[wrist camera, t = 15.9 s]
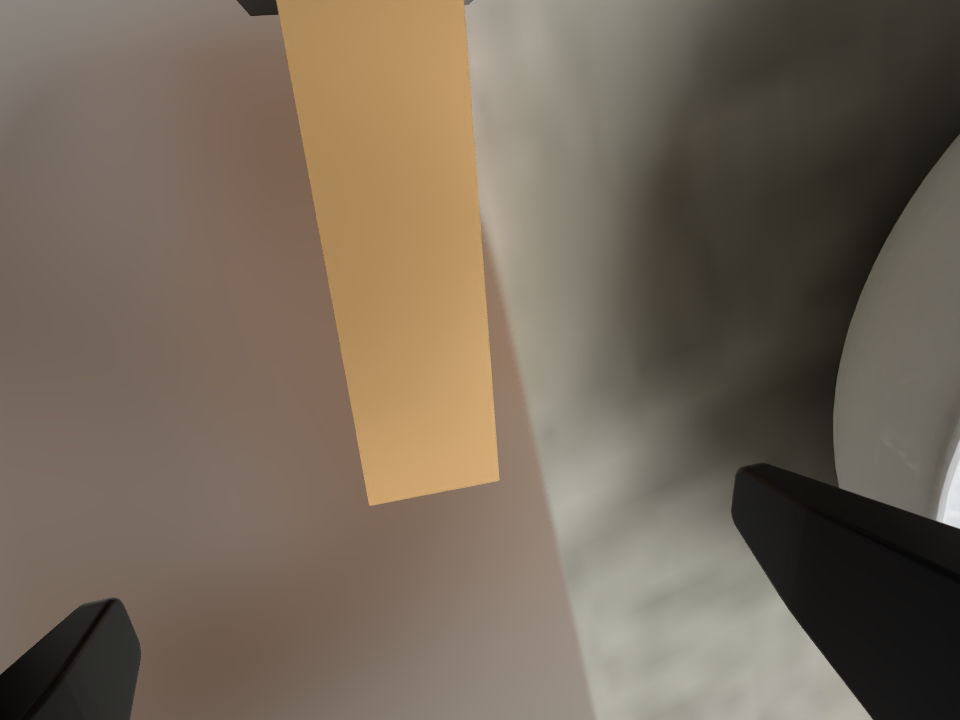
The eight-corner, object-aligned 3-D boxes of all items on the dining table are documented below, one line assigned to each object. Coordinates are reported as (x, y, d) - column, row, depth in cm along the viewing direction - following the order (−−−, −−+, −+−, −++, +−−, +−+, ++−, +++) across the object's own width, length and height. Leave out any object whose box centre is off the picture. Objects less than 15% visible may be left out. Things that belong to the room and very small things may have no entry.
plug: (450, -241, 11) (508, -429, 7) (496, 412, 17) (543, 499, 13) (198, -246, 10) (115, -460, 6) (335, 440, 16) (334, 542, 12)
